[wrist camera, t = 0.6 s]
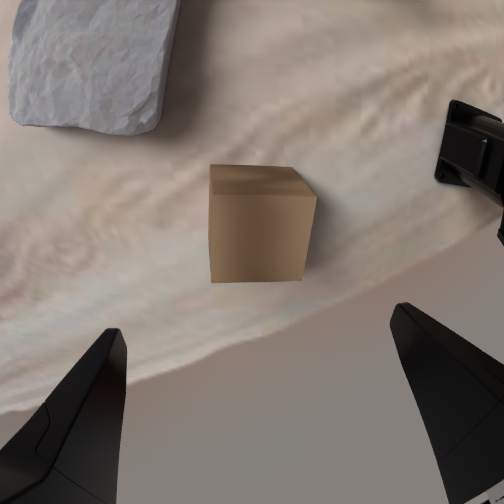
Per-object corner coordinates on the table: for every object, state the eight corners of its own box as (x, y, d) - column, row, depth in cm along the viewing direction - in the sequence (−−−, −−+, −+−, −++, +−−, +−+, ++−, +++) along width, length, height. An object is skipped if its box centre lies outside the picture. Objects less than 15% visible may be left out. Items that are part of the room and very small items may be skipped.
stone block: (41, 125, 17) (175, 131, 17) (-6, 140, 13) (146, 146, 13) (65, -35, 11) (209, -52, 12) (23, -51, 7) (191, -88, 7)
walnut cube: (291, 166, 20) (317, 197, 15) (281, 236, 22) (301, 280, 18) (210, 164, 19) (212, 194, 15) (208, 237, 21) (211, 283, 17)
